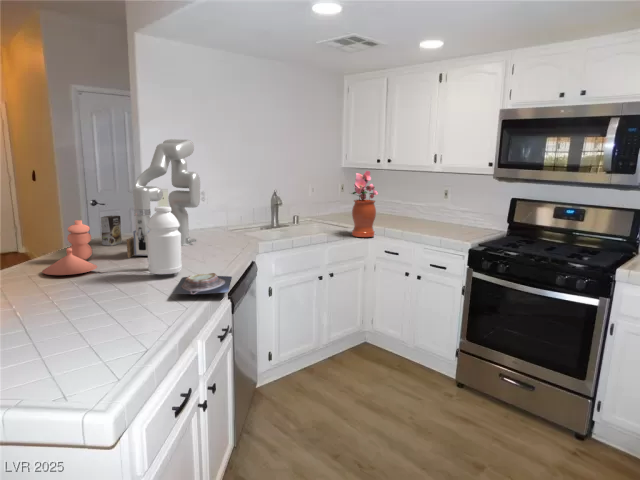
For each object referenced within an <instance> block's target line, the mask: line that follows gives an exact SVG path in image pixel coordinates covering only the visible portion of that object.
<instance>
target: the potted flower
mask: <svg viewBox="0 0 640 480" xmlns="http://www.w3.org/2000/svg"><path fill="white" fill-rule="evenodd" d="M355 175H356V177H355V182H354V184H353V187H354V191H353V192H349V194H351V195H356V196H357V197H359V199H353V202H354V204H353V207H352V209H351V215H352V220H353V229H352V230H351V236H352V237H359V238H373V237H375V232H376V231H375V230H374V227H373V226H374V222H375V220H376V217H377V209H376V205H375V203H376V200H374V197H375V196H377V195H379V193H378V191H377V190H376V189H375V186H374V184H373V183H370V184H369V185H368V183H369V182H370V181H371V180H372V177H371V171H369V170H365V172H364V173H363V174H361V173H359V172H358V173H357V172H356V173H355ZM367 191H369V199H367V194H368V192H367ZM371 191H372V192H371ZM357 194H358V195H357Z"/></svg>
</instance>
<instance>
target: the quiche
mask: <svg viewBox="0 0 640 480" xmlns="http://www.w3.org/2000/svg"><path fill="white" fill-rule="evenodd" d="M232 278H233V277H232V276H229V275H217V273H214V272H210V273H196V274H192V275H188V276H182V277H181V278H180V281H179V282H178V283H177V285H176V287H175V288H174V290H173V291H172V294H173V295H174V294H176V295H177V294H178V295H181V294H182V295H183V294H184V295H203V294H204V295H205V294H219V293H228V292H229V290H230V286H231V283H232V280H233V279H232Z"/></svg>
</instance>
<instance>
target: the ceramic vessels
mask: <svg viewBox="0 0 640 480" xmlns="http://www.w3.org/2000/svg"><path fill="white" fill-rule="evenodd" d="M90 229H91V228H90V226H89V225H86V224H85V223H83V220H82V219H80V220H79V219H78V220H74V224H72V225H69V226H68V227H67V232H68V233H69V234H68V235H67V241H68V243H70V244H71V245H70V246H69V247H67V248H66V250H65V251H66V255H65V256H63V257H61V258H60V259H59V260H57V261H56V262H54V263H52V264H51V265H49V266H47V267H46V268H44V269H43V270H42V271H41V273H42V274H45V275H51V276H66V275H67V276H68V275H69V276H71V275H77V274H83V273H87V272H88V273H89V272H91V271H94V270H96V269H97V268H98V265H97V264H94V263H92V262H90V261H87V260H88V259H89V258H90V257H91V256H92V254H93V248H92V246H91V245H90V244H89V243H90V242H91V241H92V234H90V232H89V231H90Z"/></svg>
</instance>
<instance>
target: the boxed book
mask: <svg viewBox="0 0 640 480" xmlns="http://www.w3.org/2000/svg"><path fill="white" fill-rule="evenodd" d="M148 233H149V231H148ZM133 236H134V253H135V255H134V256H148V249H147V236H145V242H146V250H139V242H138V236H137V235H136V229H135V230H134V231H133ZM141 236H144V235H141ZM142 238H143V237H142Z"/></svg>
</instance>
